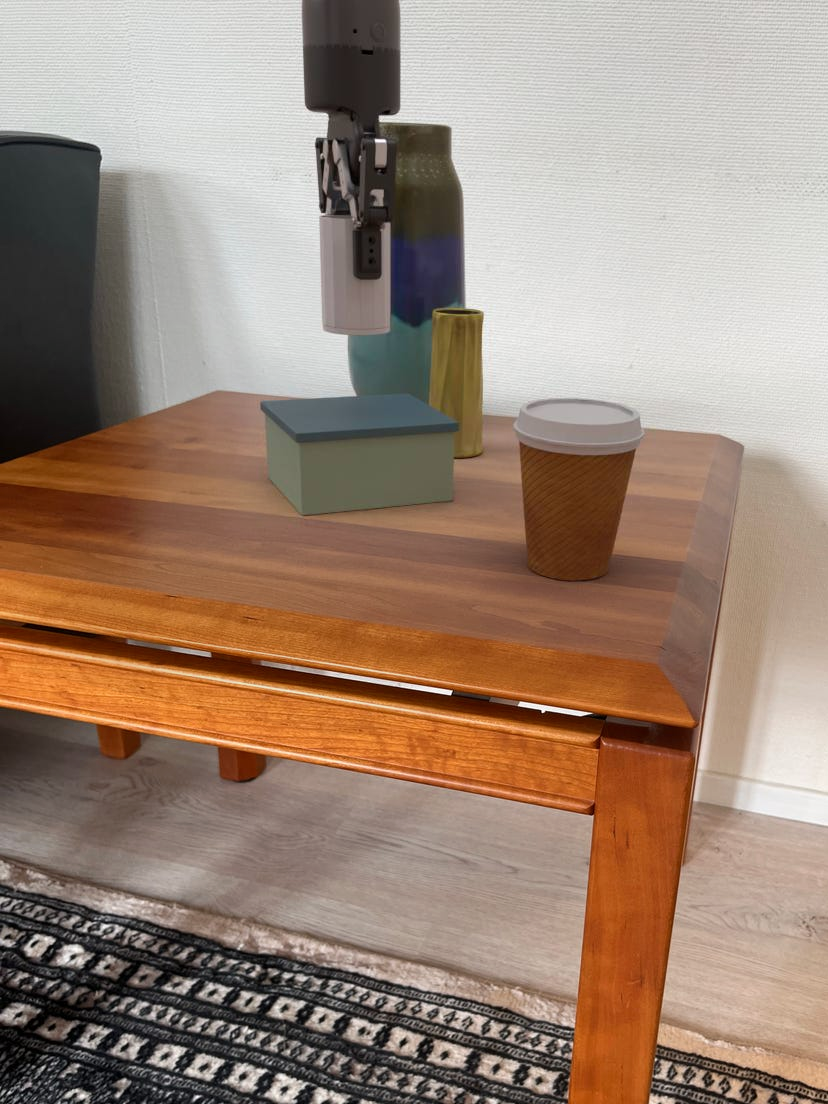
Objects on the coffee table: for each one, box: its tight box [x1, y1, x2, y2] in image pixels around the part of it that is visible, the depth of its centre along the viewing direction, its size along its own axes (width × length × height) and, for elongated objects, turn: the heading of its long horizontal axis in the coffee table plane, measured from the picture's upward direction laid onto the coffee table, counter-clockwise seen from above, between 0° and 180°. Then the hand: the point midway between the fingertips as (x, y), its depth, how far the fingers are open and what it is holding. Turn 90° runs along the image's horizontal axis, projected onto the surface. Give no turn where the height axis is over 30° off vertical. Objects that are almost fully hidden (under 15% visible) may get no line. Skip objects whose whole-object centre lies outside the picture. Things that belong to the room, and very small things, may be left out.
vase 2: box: [429, 307, 485, 459], centre depth 105 cm, size 6×6×14 cm
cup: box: [318, 214, 391, 336], centre depth 86 cm, size 6×6×9 cm
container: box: [259, 393, 459, 517], centre depth 93 cm, size 15×13×7 cm
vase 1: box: [347, 121, 467, 405], centre depth 116 cm, size 14×14×31 cm
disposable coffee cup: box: [512, 397, 646, 581], centre depth 76 cm, size 10×10×12 cm
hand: (355, 273), depth 86 cm, fingers closed on cup, 6 cm apart
